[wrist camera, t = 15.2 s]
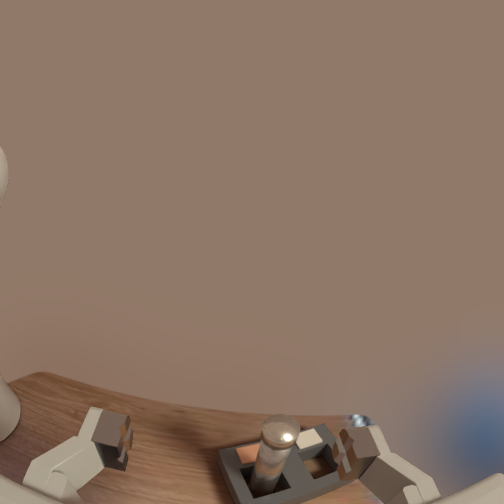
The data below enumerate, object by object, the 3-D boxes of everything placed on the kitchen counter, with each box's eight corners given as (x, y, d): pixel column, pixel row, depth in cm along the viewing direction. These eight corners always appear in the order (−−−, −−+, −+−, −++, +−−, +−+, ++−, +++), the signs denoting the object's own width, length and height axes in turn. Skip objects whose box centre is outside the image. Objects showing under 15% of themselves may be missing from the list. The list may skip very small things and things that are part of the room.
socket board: (242, 520, 25) (245, 511, 24) (216, 461, 34) (217, 448, 33) (353, 481, 31) (362, 469, 30) (318, 435, 40) (324, 422, 39)
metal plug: (252, 503, 28) (272, 445, 23) (242, 481, 31) (257, 418, 27) (279, 495, 29) (306, 435, 25) (268, 475, 32) (290, 411, 28)
